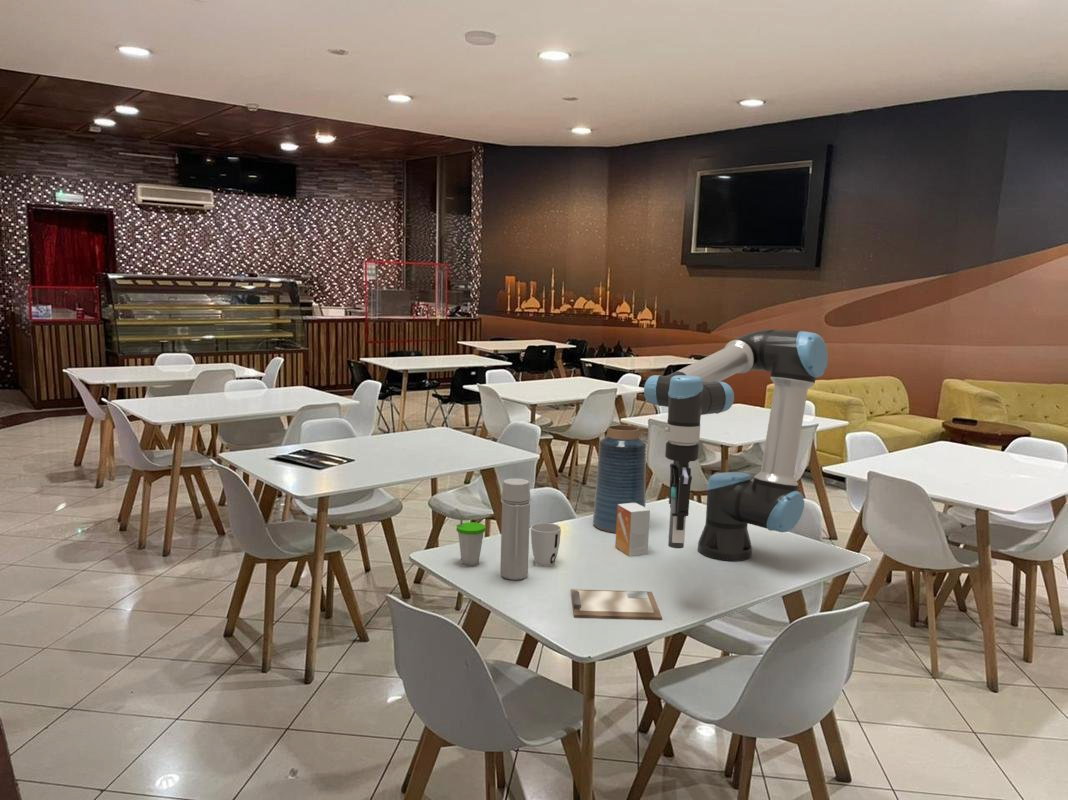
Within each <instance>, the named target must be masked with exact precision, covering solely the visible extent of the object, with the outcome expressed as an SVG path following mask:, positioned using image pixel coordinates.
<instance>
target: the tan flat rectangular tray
mask: <svg viewBox="0 0 1068 800" xmlns="http://www.w3.org/2000/svg"><path fill="white" fill-rule="evenodd" d="M570 597H571V606H572V612H573V614H572V615H573V618H575V619H576V618H578V619H579V618H581V619H585V618H586V619H618V620H619V619H621V620H653V621H654V620H656V621H657V620H659V621H660V620H661V621H662V620H663V616H662V614H661V611H660V609H659V606H658V603H657V601H656V598H655V595H654V594H653V591H647V590H646V591H642V590H640V591H639V590H637V591H636V590H610V589H609V590H607V589H606V590H605V589H603V590H602V589H572V588H571V589H570Z"/></svg>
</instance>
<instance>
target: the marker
mask: <svg viewBox="0 0 1068 800" xmlns="http://www.w3.org/2000/svg"><path fill="white" fill-rule="evenodd" d="M675 498H676V487H671V508H670V512H669V513H670V514H669V525H670V526H668V527H669V528H668V544H667V545H668V547H669V548H671V549H672V548H673V549H683V548H684V545H685V542H684V543H673V542H672V535H673V519H674V516H672V513H675Z"/></svg>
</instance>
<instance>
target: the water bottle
mask: <svg viewBox="0 0 1068 800" xmlns="http://www.w3.org/2000/svg"><path fill="white" fill-rule="evenodd" d="M501 490H502V491H501V498H500V503H501V533H500V538H501V539H500V568H499V569H500V571H499V572H500V575H501V576H502V578H503V579H507V580H511V581H518V580H522V579H525V578H526V577H527V576H528V574H529V556H530V555H529V552H530V551H529V550H530V524H531V523H530V520H531V518H530V515H531V504H532V502H533V500H532V498H531V489H530V481H529V480H527V479H524V478H517V477H516V478H508V479H507V478H506V479H504V480H503V483H502V489H501Z"/></svg>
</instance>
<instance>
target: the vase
mask: <svg viewBox="0 0 1068 800" xmlns="http://www.w3.org/2000/svg"><path fill="white" fill-rule="evenodd" d="M598 446H599V447H598V457H597V460H598V461H597V467H596V468H597V471H596V481H595V482H596V483H595V492H594V495H595V496H594V504H593V505H594V508H593V516H592V524H593V525H594V526H595V527H596V528H597V529H599V530H601V531H603V532H608V533H614V534H616V524H617V505H618V504H625V503H637V504H639V505H641V506H643V507H645V508H646V497H647V495H646V471H647V470H646V469H647V467H646V464H647V463H646V461H647V460H646V459H647V443H646V442H645V441H644V440H643V439H642V438H641V436H640V428H639V427H636V426H633V425H624V424H614V425H613V424H612V425H609V426H607V431H606V436H604V437H603V438H602V439H600V440H599V441H598Z"/></svg>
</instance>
